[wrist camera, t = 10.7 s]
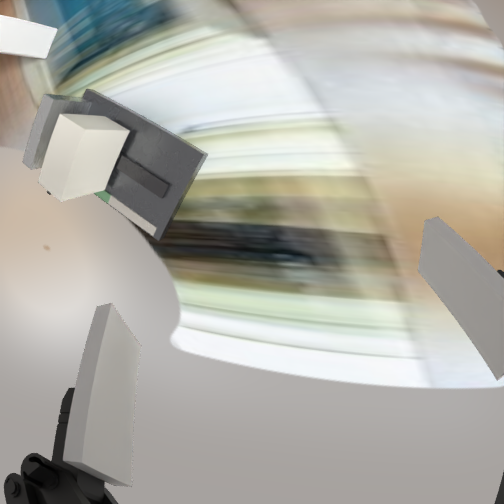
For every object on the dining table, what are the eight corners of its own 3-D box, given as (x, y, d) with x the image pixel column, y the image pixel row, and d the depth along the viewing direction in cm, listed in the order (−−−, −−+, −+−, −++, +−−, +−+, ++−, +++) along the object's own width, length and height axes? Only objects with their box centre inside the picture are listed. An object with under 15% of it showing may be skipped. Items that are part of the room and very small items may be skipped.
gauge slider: (78, 184, 39) (34, 194, 30) (105, 116, 35) (59, 113, 26) (100, 201, 39) (57, 215, 30) (130, 130, 35) (85, 129, 26)
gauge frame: (63, 164, 41) (20, 171, 32) (92, 89, 36) (48, 83, 27) (163, 237, 41) (126, 260, 32) (208, 154, 36) (174, 155, 27)
